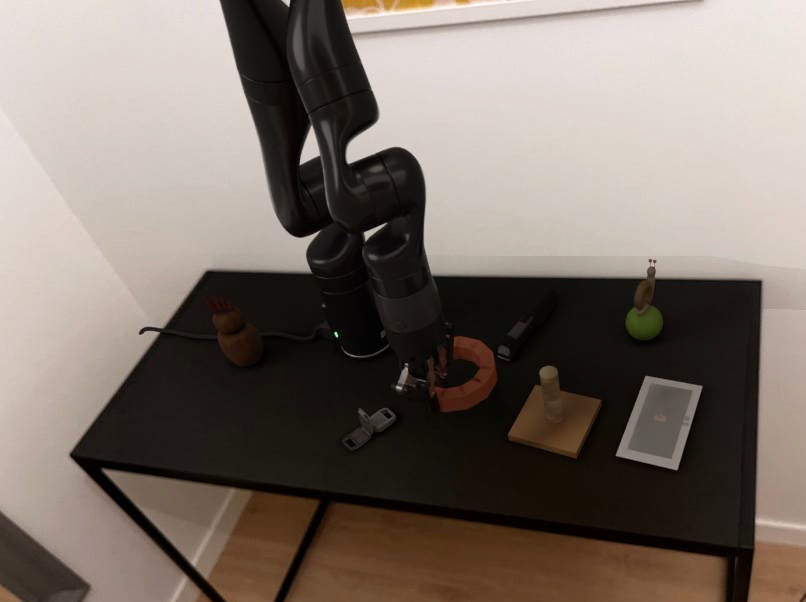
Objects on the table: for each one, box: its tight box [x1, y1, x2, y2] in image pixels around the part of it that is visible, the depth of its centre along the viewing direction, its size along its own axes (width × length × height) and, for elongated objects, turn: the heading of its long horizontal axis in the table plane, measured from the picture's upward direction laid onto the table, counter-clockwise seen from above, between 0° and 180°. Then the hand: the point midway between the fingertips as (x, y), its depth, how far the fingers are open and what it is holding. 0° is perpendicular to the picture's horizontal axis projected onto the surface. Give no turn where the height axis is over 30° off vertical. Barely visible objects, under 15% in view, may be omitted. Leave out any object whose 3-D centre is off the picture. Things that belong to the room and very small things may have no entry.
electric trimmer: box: [494, 286, 558, 362], centre depth 114 cm, size 4×16×3 cm, turn 143°
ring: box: [423, 335, 498, 413], centre depth 100 cm, size 12×12×3 cm
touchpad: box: [615, 375, 704, 471], centre depth 95 cm, size 8×15×2 cm, turn 154°
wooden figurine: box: [201, 293, 264, 367], centre depth 118 cm, size 7×6×15 cm
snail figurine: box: [625, 258, 664, 341], centre depth 105 cm, size 5×6×12 cm
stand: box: [507, 365, 602, 459], centre depth 96 cm, size 10×10×10 cm
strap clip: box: [341, 407, 397, 451], centre depth 104 cm, size 8×3×4 cm, turn 128°
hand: (437, 403), depth 97 cm, fingers closed on ring, 2 cm apart
